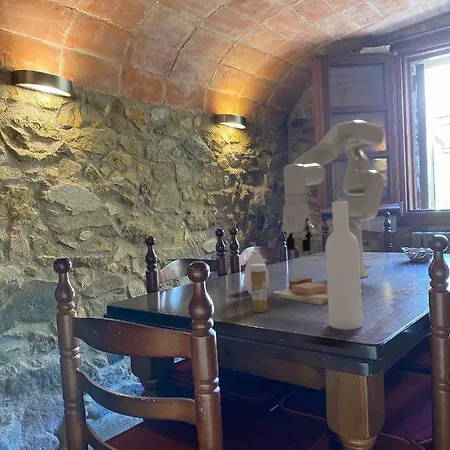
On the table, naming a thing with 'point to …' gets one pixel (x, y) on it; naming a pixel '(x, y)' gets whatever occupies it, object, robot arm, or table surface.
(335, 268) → the bottle
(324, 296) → the board
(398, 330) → the table surface
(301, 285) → the tile
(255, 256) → the sauce bottle
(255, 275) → the sprinkles bottle
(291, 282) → the scraper
